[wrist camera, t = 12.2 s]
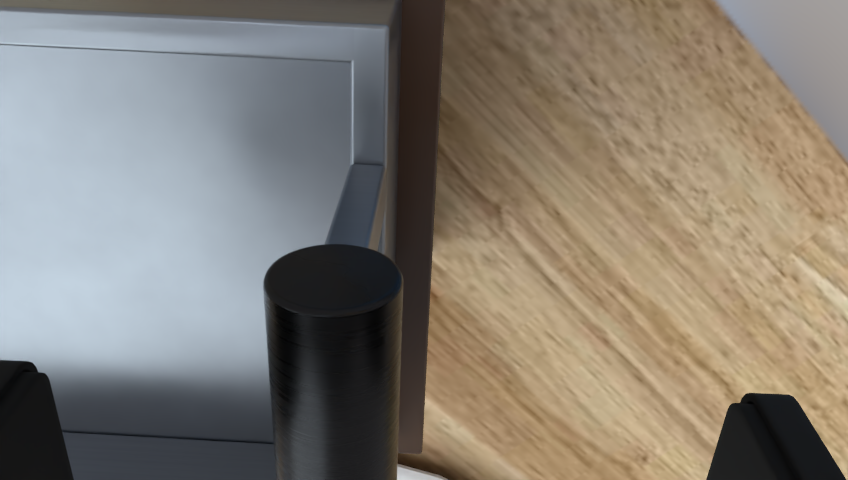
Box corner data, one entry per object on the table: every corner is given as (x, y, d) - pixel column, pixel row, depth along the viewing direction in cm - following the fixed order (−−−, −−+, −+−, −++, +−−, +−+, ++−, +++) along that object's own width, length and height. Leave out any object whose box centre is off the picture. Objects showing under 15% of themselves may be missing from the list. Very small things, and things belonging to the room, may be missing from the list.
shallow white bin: (-49, 425, 19) (-330, 748, 12) (-199, -40, 14) (-824, 72, 7) (410, 451, 19) (384, 794, 12) (429, -10, 14) (403, 135, 7)
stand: (56, -102, 24) (-206, -63, 14) (441, -85, 24) (447, -34, 14) (114, 239, 29) (-45, 437, 20) (426, 251, 29) (422, 455, 20)
